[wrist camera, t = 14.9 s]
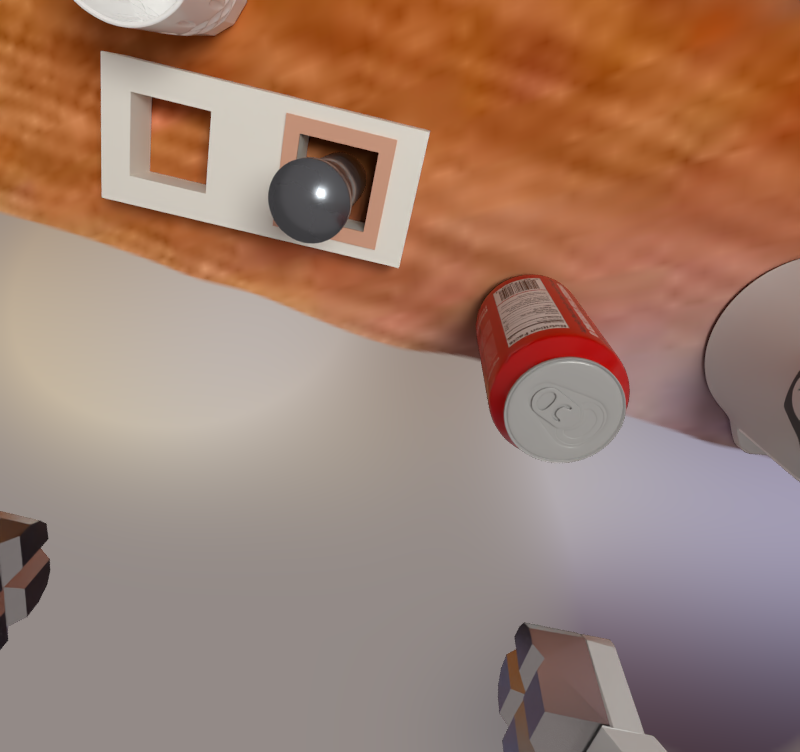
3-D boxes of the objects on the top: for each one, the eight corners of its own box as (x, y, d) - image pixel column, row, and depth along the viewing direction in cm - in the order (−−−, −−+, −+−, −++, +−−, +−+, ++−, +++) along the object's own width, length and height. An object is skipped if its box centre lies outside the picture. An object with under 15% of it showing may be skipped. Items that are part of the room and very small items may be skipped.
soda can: (521, 249, 42) (562, 317, 28) (598, 311, 43) (672, 403, 30) (454, 328, 45) (461, 423, 31) (529, 383, 46) (566, 497, 33)
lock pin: (377, 154, 39) (356, 169, 29) (365, 217, 41) (341, 251, 31) (315, 138, 39) (273, 149, 29) (306, 202, 41) (263, 233, 31)
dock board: (430, 130, 39) (429, 132, 36) (401, 257, 42) (398, 268, 40) (124, 54, 38) (99, 50, 35) (123, 191, 42) (100, 197, 39)
